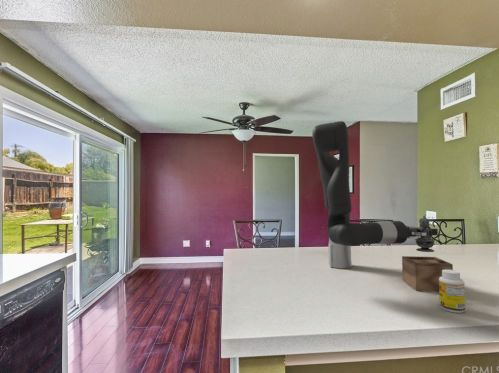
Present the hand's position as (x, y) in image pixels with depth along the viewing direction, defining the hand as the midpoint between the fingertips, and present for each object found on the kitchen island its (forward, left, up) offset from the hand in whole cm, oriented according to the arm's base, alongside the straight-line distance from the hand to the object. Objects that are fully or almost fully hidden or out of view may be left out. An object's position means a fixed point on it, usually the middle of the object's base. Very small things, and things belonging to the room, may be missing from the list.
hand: (431, 231), depth 95 cm
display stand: (-3, -1, -18) cm, 19 cm away
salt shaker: (-3, -1, -7) cm, 7 cm away
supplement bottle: (-5, -21, -19) cm, 28 cm away
